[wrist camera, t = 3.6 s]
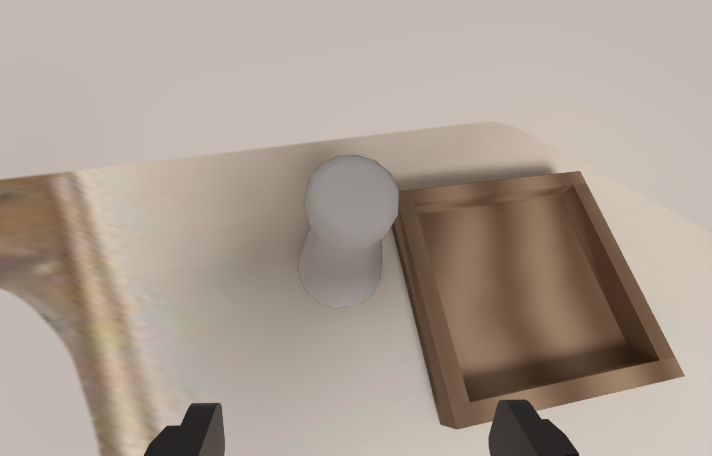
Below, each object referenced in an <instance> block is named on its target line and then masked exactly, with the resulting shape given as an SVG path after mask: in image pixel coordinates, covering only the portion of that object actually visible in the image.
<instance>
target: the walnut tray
mask: <svg viewBox="0 0 712 456" xmlns="http://www.w3.org/2000/svg"><path fill="white" fill-rule="evenodd" d="M392 228H393V232H394V236H395V240H396V244H397V248H398V252H399V256H400V260H401V265H402V269H403V273H404V277H405V281H406V285H407V289H408V293H409V297H410V301H411V305H412V310H413V314H414V318H415V322H416V326H417V330H418V334H419V338H420V342H421V346H422V350H423V355H424V359H425V363H426V367H427V371H428V375H429V379H430V383H431V387H432V391H433V395H434V400H435V404H436V408H437V412H438V416H439V420H440V424H441V425H444V426H447V427H451V428H454V429H461V428H465V427H469V426H473V425H478V424H482V423H486V422H491V421H493V419H494V415H495V411H496V407H497V404H498V402H499V401H500V400H520V399H525V400H527V401H529V402H530V403H531V405H532V406H533V407H534V409H535V410H536V411H538V410H542V409H546V408H551V407H555V406H559V405H563V404H568V403H572V402H576V401H581V400H585V399H589V398H593V397H598V396H602V395H606V394H611V393H615V392H619V391H623V390H628V389H632V388H636V387H641V386H645V385H649V384H653V383H658V382H662V381H666V380H671V379H675V378H679V377H683V376H685V375H684V374H683V372H682V370H681V368H680V366H679V364H678V362H677V360H676V358H675V356H674V354H673V352H672V350H671V348H670V346H669V344H668V342H667V340H666V338H665V336H664V334H663V332H662V330H661V329H660V327H659V325H658V323H657V321H656V319H655V317H654V315H653V313H652V311H651V309H650V307H649V305H648V303H647V301H646V299H645V297H644V295H643V293H642V291H641V289H640V287H639V285H638V283H637V282H636V280H635V278H634V276H633V274H632V272H631V270H630V268H629V266H628V264H627V262H626V260H625V258H624V256H623V254H622V252H621V250H620V248H619V246H618V244H617V242H616V240H615V238H614V237H613V235H612V233H611V231H610V229H609V227H608V225H607V223H606V221H605V219H604V217H603V215H602V213H601V211H600V209H599V207H598V205H597V203H596V201H595V199H594V197H593V195H592V193H591V191H590V190H589V188H588V186H587V184H586V182H585V180H584V178H583V176H582V174H581V172H580V171H576V172H567V173H558V174H549V175H540V176H531V177H522V178H514V179H505V180H496V181H487V182H478V183H469V184H460V185H451V186H442V187H433V188H425V189H416V190H407V191H399V198H398V215H397V217H396V219H395V220H394V222H393V224H392Z"/></svg>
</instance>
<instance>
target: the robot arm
mask: <svg viewBox="0 0 712 456" xmlns="http://www.w3.org/2000/svg"><path fill="white" fill-rule="evenodd" d="M489 450H490V455H491V456H579V453H578V452H577V450H576V449H575V447H574V446H573V445H572V443H571V442H570V440H569V439H568V437H567V436H566V435H565V434H564V433H563V432H562V431H561V430H560V429H558V428H557V427H556V426H555V425H554V424H553V423H552V422H551V421H549V420H548V419H541V418H540V416H539V415H538V413H537V412H536V410H535V409H534V407H533V406H532V405H531V403H530V402H529V401H527V400H525V399H520V400H500V401H499V402H498V404H497V407H496V411H495V415H494V419H493V422H492V426H491V430H490V434H489ZM224 451H225V437H224V427H223V416H222V406H221V404H220V403H192V404H191V405H190V406H189V408H188V410H187V412H186V414H185V417H184V419H183V421H182V423H181V426H166V427H165V428H164V429H163V431H162V432H161V433H160V434H159V435H158V436H157V437H156V438H155V439H154V440H153V441H152V442H151V443H150V444H149V446H148V448H147V450H146V452H145V454H144V456H224Z"/></svg>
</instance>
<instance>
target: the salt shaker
mask: <svg viewBox="0 0 712 456" xmlns="http://www.w3.org/2000/svg"><path fill="white" fill-rule="evenodd" d="M398 198H399V189H398V187H397V185H396V183H395V181H394V179H393V177H392V175H391V173H390V172H388V171H387V170H386V169H385V168H384V167H382V166H381V165H380V164H379V163H378V162H376V161H374V160H371V159H368V158H365V157H361V156H358V155H349V156H336V157H334V158H332V159H330V160H329V161H327V162H325V163H323V164H321V165H319V167H318V168H317V169H316V170H315V172H314V173H313V174H312V176H311V177H310V178H309V179H308V183H307V186H306V193H305V201H304V208H305V213H306V215H307V218H308V221H309V224H310V229H309V232H308V235H307V237H306V240H305V243H304V245H303V248H302V251H301V254H300V261H299V268H298V272H299V275H300V278H301V281H302V284H303V287H304V289H305V290H306V291H307V292H308V293H309V294H310V295H311V296H312V297H313V298H314V299H315V300H316V301H317V302H319V303H322V304H324V305H327V306H330V307H333V308H336V309H337V308H344V307H350V306H356V305H357V304H359V303H360V302H362V301H364V300H365V299H367V298H368V297H370V296H371V295H372V294H373V293H374V291H375V289H376V287H377V285H378V283H379V281H380V279H381V269H382V246H381V239H382V238H384V237H385V236H386V234H387V233H388V231H389V229H390V227H391V226H392V224H393V222H394V220H395V219H396V217H397V215H398Z"/></svg>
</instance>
